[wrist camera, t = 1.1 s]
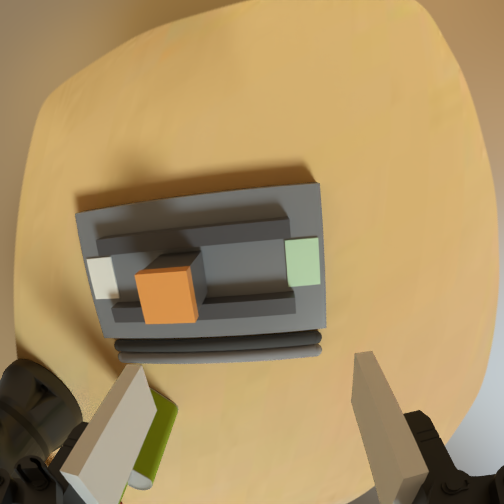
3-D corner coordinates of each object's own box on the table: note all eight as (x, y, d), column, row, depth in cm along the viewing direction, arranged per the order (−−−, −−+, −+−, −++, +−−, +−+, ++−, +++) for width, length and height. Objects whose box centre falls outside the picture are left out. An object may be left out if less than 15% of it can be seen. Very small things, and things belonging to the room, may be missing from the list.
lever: (167, 295, 31) (145, 324, 25) (159, 253, 30) (134, 274, 24) (209, 292, 30) (195, 322, 24) (202, 249, 29) (186, 270, 23)
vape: (143, 382, 36) (78, 507, 17) (182, 408, 37) (139, 539, 18) (131, 397, 37) (69, 514, 18) (168, 421, 38) (125, 544, 19)
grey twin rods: (122, 358, 36) (118, 364, 34) (115, 337, 35) (111, 343, 34) (320, 351, 34) (322, 358, 33) (320, 327, 33) (322, 334, 32)
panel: (111, 329, 35) (98, 344, 31) (84, 210, 31) (66, 216, 28) (323, 319, 33) (328, 335, 30) (316, 182, 29) (322, 184, 26)
